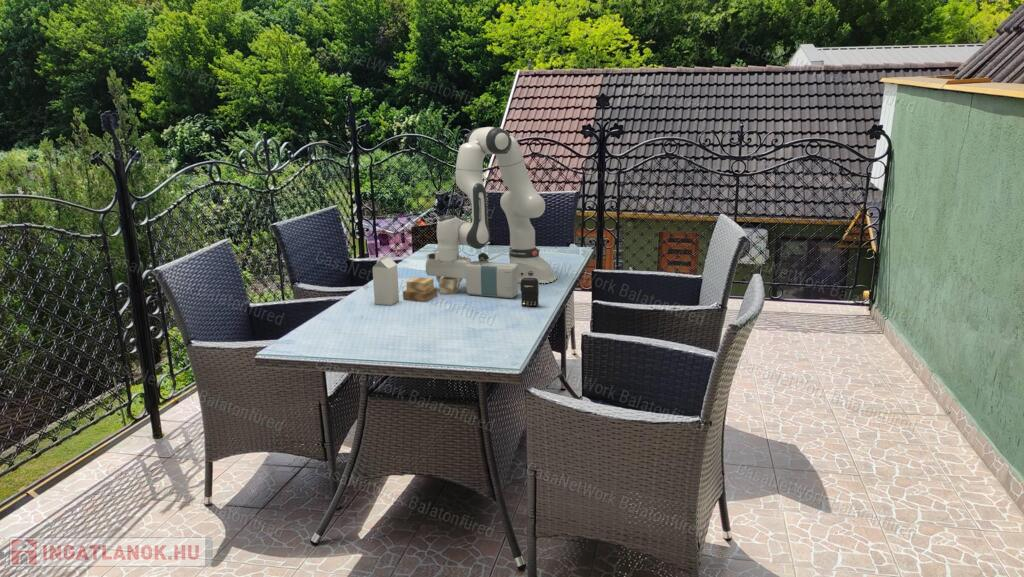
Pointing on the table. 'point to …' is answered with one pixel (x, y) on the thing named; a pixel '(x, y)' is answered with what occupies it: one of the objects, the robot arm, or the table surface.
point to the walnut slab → (420, 295)
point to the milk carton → (385, 281)
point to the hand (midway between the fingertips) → (449, 287)
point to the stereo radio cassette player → (492, 278)
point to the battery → (530, 291)
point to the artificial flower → (483, 257)
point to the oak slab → (420, 284)
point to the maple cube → (448, 285)
